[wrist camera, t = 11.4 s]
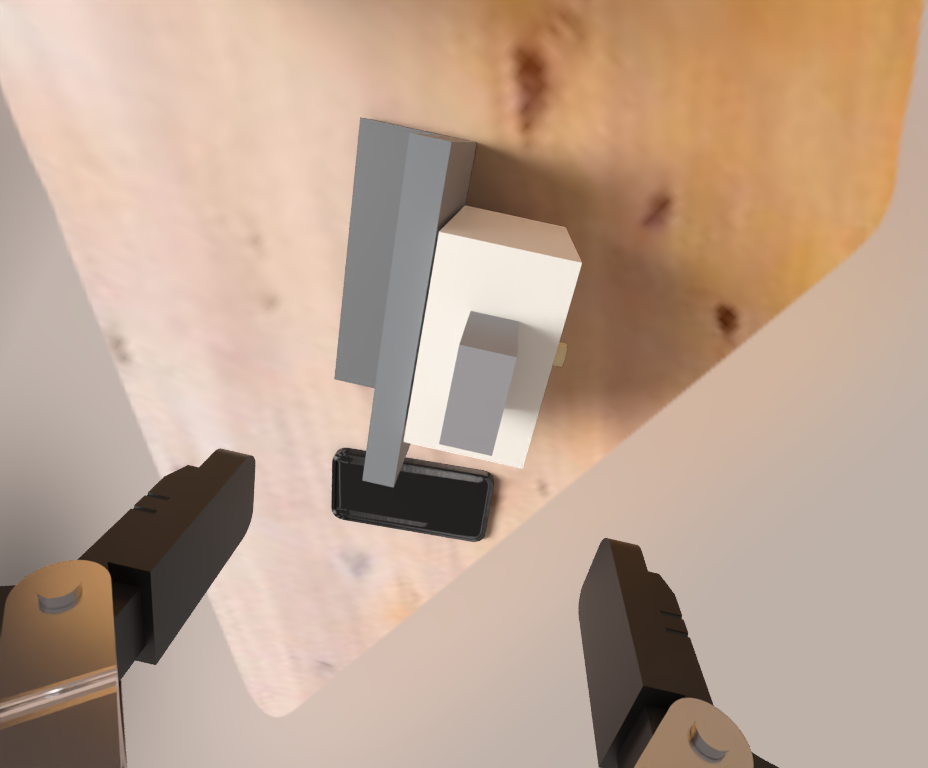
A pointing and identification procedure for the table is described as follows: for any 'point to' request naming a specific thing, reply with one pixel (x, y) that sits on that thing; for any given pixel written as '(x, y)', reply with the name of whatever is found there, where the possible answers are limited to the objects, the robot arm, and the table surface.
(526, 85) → the table surface
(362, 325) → the wall board
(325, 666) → the table surface
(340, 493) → the phone
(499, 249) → the cabinet
